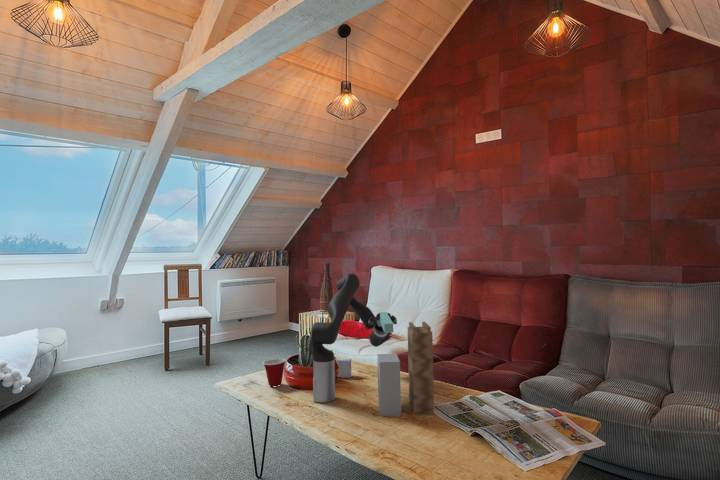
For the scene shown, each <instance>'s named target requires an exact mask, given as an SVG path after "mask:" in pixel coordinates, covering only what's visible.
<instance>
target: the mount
mask: <svg viewBox="0 0 720 480" xmlns="http://www.w3.org/2000/svg"><path fill="white" fill-rule="evenodd" d="M421 325H422V326H416V325H415V324H414V323H413V322H412V321H410V322H408V326H407V358H408V359H407V361H408V364H407V365H408V399H409V401H408V402H409V405H410V408H411V410H412V413H413V416H424V415H427V416H428V415H435V397H434V396H435V393H434V387H435V385H434V346H433V345H434V343H433V331H432V330H431V329H432V327H431V326H430V325H429V324H428V323H427V322H426V321H422V322H421Z"/></svg>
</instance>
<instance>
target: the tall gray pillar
mask: <svg viewBox="0 0 720 480" xmlns="http://www.w3.org/2000/svg"><path fill="white" fill-rule="evenodd" d="M376 355H377V391H378V392H377V393H378V395H377V396H378V398H377V400H378V401H377V402H378V409H379V414H380V417H392V416H393V417H394V416H395V417H397V416H398V417H399V416H402V391H401V387H402V386H401V385H402V384H401V361H400V359H399V356H398V354H397V353H378V354H376Z"/></svg>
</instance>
